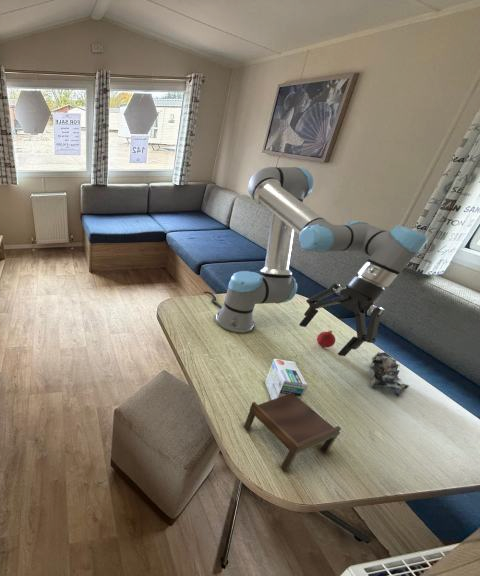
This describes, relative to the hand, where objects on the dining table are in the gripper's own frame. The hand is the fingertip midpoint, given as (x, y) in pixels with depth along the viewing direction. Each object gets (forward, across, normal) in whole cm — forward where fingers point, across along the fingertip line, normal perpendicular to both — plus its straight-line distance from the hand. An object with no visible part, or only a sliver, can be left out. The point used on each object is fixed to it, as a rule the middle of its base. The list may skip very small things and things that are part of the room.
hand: (320, 339), depth 95 cm
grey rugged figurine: (+8, +8, +34) cm, 36 cm away
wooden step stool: (+24, +16, -15) cm, 32 cm away
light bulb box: (+22, +3, -4) cm, 22 cm away
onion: (+11, -12, +32) cm, 36 cm away
